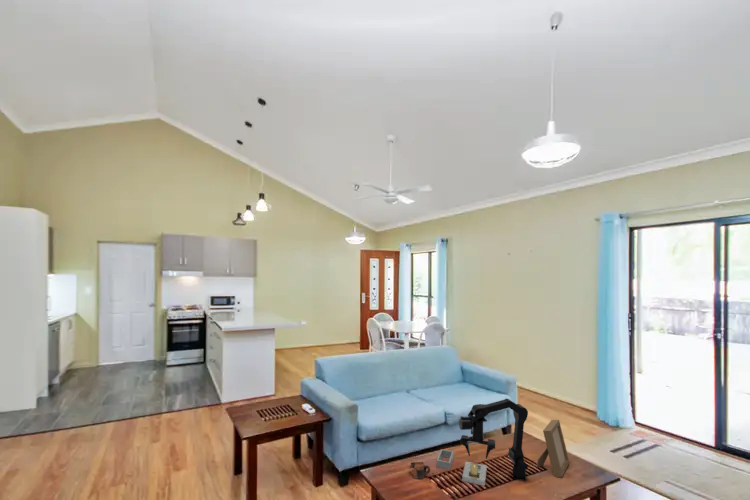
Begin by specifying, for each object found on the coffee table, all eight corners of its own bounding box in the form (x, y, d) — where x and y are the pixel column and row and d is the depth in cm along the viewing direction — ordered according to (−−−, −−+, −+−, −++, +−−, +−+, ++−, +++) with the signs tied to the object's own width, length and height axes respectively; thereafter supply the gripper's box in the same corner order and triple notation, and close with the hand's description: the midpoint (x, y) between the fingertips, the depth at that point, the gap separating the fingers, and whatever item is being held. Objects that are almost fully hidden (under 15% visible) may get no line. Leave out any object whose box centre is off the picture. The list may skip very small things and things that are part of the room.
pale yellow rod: (478, 478, 214) (478, 463, 214) (477, 482, 210) (477, 467, 210) (470, 476, 215) (471, 462, 215) (470, 480, 211) (470, 465, 212)
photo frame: (569, 464, 233) (568, 422, 235) (561, 478, 216) (561, 433, 217) (543, 456, 242) (543, 416, 244) (534, 470, 225) (534, 426, 226)
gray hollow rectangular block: (453, 458, 236) (453, 451, 236) (449, 469, 222) (449, 462, 222) (441, 455, 239) (441, 449, 239) (436, 467, 224) (436, 460, 225)
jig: (486, 469, 223) (486, 465, 223) (484, 485, 206) (484, 481, 206) (465, 465, 227) (465, 461, 227) (462, 481, 210) (462, 476, 210)
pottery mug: (408, 479, 211) (407, 462, 216) (413, 479, 219) (412, 463, 223) (429, 477, 208) (427, 460, 212) (433, 478, 215) (431, 461, 220)
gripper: (495, 425, 220) (495, 453, 219) (462, 421, 226) (462, 448, 225) (495, 433, 209) (495, 462, 209) (460, 428, 215) (460, 456, 215)
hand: (477, 457), depth 215 cm, fingers open, 9 cm apart
